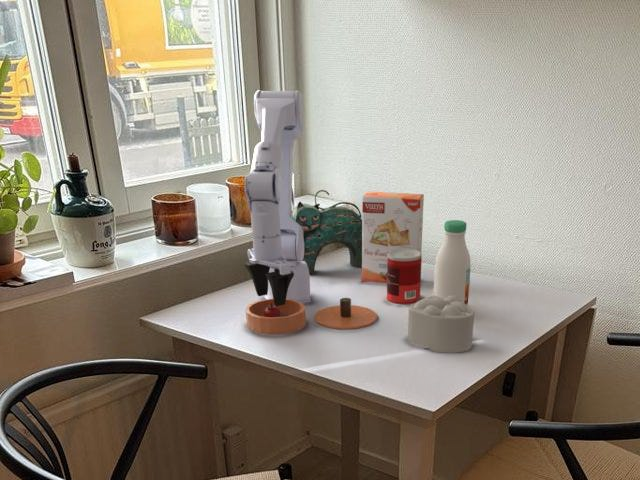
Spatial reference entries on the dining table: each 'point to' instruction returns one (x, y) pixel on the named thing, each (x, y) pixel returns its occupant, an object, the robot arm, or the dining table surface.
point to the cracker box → (388, 229)
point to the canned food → (403, 276)
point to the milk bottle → (453, 263)
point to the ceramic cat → (329, 230)
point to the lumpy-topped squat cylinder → (441, 324)
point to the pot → (276, 324)
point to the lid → (345, 316)
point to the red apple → (271, 311)
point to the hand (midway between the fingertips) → (271, 299)
